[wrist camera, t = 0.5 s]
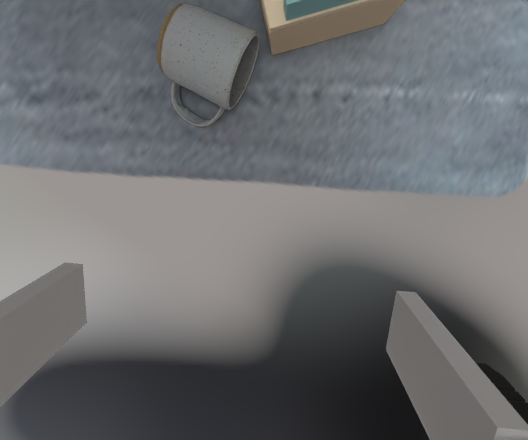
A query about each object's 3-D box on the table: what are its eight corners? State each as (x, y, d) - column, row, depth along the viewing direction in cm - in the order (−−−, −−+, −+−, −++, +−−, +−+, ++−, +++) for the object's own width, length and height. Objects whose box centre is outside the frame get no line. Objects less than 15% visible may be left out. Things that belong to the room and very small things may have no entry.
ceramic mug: (192, 12, 36) (168, -19, 28) (263, 45, 36) (257, 22, 29) (161, 109, 38) (131, 104, 31) (227, 138, 39) (214, 140, 31)
